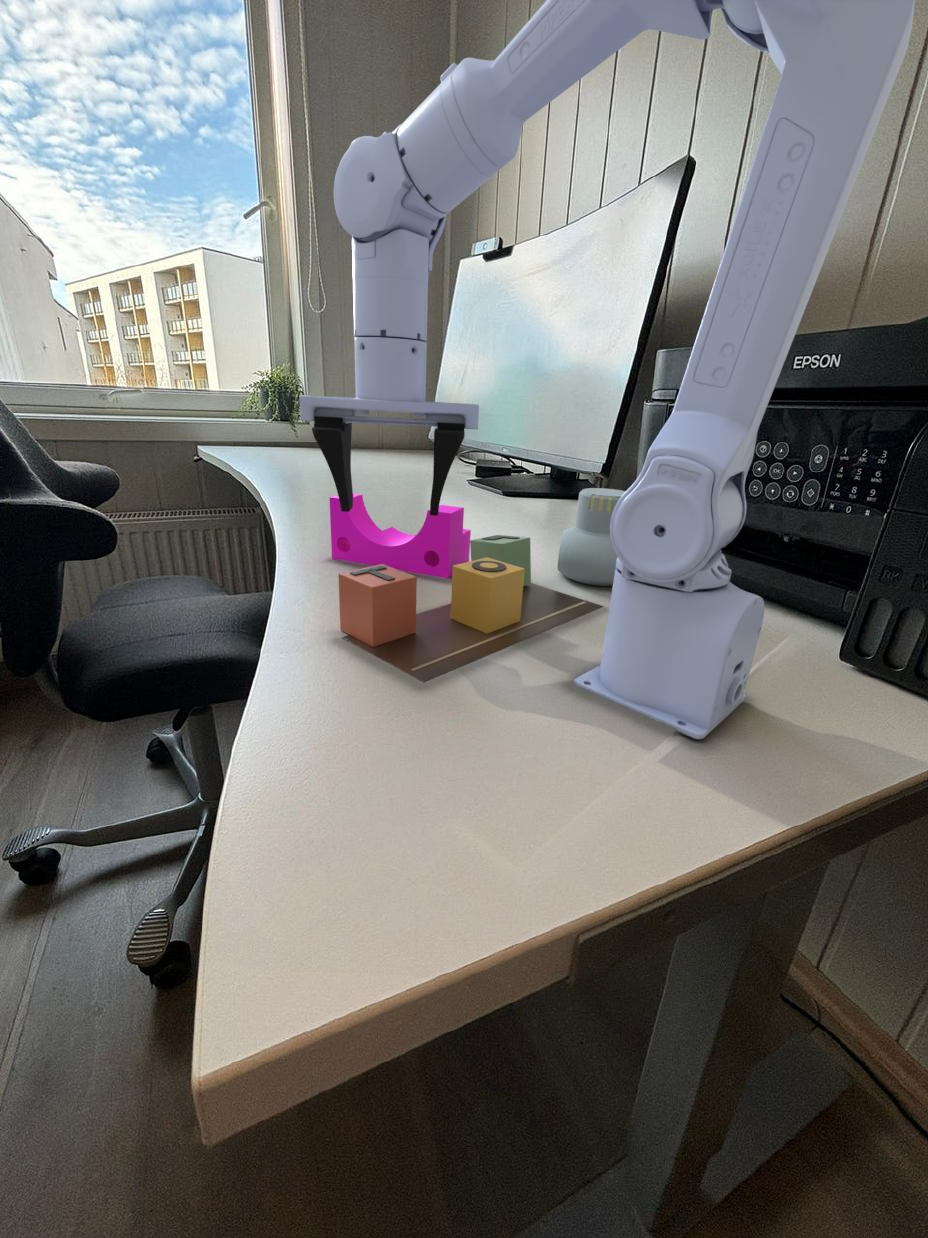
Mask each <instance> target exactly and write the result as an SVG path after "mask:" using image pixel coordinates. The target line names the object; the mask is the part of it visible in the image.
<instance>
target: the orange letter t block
mask: <svg viewBox="0 0 928 1238" xmlns="http://www.w3.org/2000/svg"><path fill="white" fill-rule="evenodd" d="M417 579H418V577H417V576H416V575H413V574H410V573H407V572H406V571H402V570H397V569H394V568H392V567H389V566H386V565H384V564H380V565H375V566H373V565H370V566H366V567H361V568H357V569H352V570H348V571H343V572H339V573H338V601H339V626H340V627H339V628H340V631H342V632H344V633H345V634H347V635H351V636H353V637H355V638H357V639H359V640H360V641H362V642H364V643H366V644H368V645H370V646H372V647H375V646H378V645H381V644H384V643H387V642H390V641H393V640H396V639H399V638H402V637H405V636H408V635H411V634H414V633H416V614H417V587H418V586H417V582H418V581H417Z"/></svg>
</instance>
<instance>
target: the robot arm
mask: <svg viewBox="0 0 928 1238" xmlns="http://www.w3.org/2000/svg"><path fill="white" fill-rule="evenodd" d="M915 4H916V0H545V1H544V3H543V4H542V5H541V6H540V7H539V8H538V10H537V11H536V12H534V14H533V16H532V17H530V19H529V20H528V21H527V22H526V23H525V24H524V26H523V27H522V28H521V29H520V30H519V32H518V33H517V34H516V35H515V36H514V37H513V38H512V39H511V40H510V42H509V43H508V44H507V45H506V46H505V48H503V50H502V51H501V52H500V53H499V54H498V55H497V57H496V58H495V59H492V60H487V59H481V58H475V57H465V58H463V59H462V60H461V61H460V62H459V64H457V63H455V62H453V63H452V64H451V65H450V66H449V67H447V69H446V70H445V71H444V72H443V73H442V74H441V75H440V79H439V80H440V83H439V84H438V85H437V86H436V88H435V89H434V90H433V91H431V93H430V94H429V95H428V96H427V97H426V98H425V99H424V100H423V101H422V102H421V103H420V104H419V105H418V106H417V108H415V109H414V110H413V112H412V113H410V115H408V117H407V118H406V119H404V121H403V122H402V123H401V124H400V123H399V124H398V126H397V127H396V128H395V129H394V130H393V131H392V132H391V131H389V132H388V131H386V130H385V131H384V132H383V133H382V134H381V135H379V136H376V137H375V136H373V135H362V136H360V137H357V138H355V139H354V140H353V141H351V143H350V145H349V147H348V149H347V151H346V152H345V153H344V154H343V156H342V158H341V159H340V161H339V164H338V166H337V169H336V172H335V175H334V176H335V177H334V181H333V204H334V209H335V210H334V211H335V214H336V217H337V220H338V222H339V224H340V225H341V228H342V229H343V230H344V231H345V232H346V233H347V234H348V235H350V236H351V250H352V252H351V253H352V254H351V255H352V256H351V257H352V259H351V260H352V294H353V295H352V296H353V297H352V298H353V337H354V338H353V339H354V383H355V384H354V385H355V397H350V396H349V397H345V396H325V395H324V396H323V395H299V397H298V399H299V414H300V415H299V416H300V421H301V422H314V423H313V427H311V431H312V432H311V433H312V435H313V438H314V440H315V442H316V443H317V445H318V448H319V449H320V451H321V453H322V455H323V457H324V459H325V461H326V463H327V465H328V469H329V471H330V473H331V476H332V479H333V483H334V485H335V488H336V489H335V490H336V492H337V495H338V496H339V500H340V506H341V511H343V512H349V511H350V510H351V509H352V508H353V494H354V492H353V478H352V431H353V425H352V424H353V423H354V424H371V425H372V424H374V425H375V424H376V425H395V426H396V425H397V426H415V427H417V426H418V427H435V428H434V431H433V466H432V467H433V468H432V469H433V470H432V473H433V475H432V485H431V493H430V503H429V510H430V515H436V516H437V515H438V511H439V506H440V504H441V503H440V502H441V498H442V495H443V490H444V487H445V484H446V481H447V478H448V475H449V472H450V470H451V468H452V465H453V462H454V460H455V459H456V456H457V454H458V452H459V449H460V448H461V446H462V443H463V441H464V439H465V433H466V432H465V430H479V415H480V405H479V404H478V403H461V402H460V403H459V402H443V401H442V402H441V401H426V399H427V397H426V395H427V393H426V391H427V353H428V352H427V348H428V343H427V342H428V339H427V338H428V300H429V299H428V297H429V296H428V295H429V293H428V291H429V277H430V272H432V271H433V259H434V258H433V256H434V251H435V248H436V246H437V244H438V242H439V241H440V239H441V236H442V235H443V232H444V229H445V225H446V221H447V215H448V214H449V213H451V212H452V211H453V210H454V209H455V208H457V206H459V205H460V204H461V203H462V202H463V201H465V200H466V199H467V198H468V197H469V196H470V195H472V194H473V193H474V192H475V191H477V189H479V188H480V187H481V186H483V185H484V184H485V183H486V182H487V181H489V180H490V179H491V178H492V177H493V176H494V175H496V174H497V173H499V171H501V170H502V169H503V168H504V167H505V166H506V165H507V164H509V163H510V162H511V161H512V160H513V159H514V158H515V157H516V155H517V152H518V149H519V145H520V141H521V136H522V130H523V126H524V124H525V122H526V121H528V119H530V118H531V117H533V116H534V115H536V114H537V113H538V112H540V111H541V110H542V109H543V108H544V107H546V106H548V104H550V103H552V101H554V100H555V99H557V98H558V97H559V96H560V95H562V94H563V93H564V92H566V91H567V90H568V89H570V88H571V87H572V86H573V85H575V84H576V83H577V82H579V81H580V80H581V79H583V78H584V77H585V76H586V75H588V74H589V73H590V72H592V71H593V70H594V69H596V68H597V67H598V66H599V65H601V64H602V63H604V61H607V60H608V59H609V58H610V57H611V56H613V55H614V54H615V53H617V52H618V51H619V50H620V49H622V48H623V47H625V46H626V45H627V44H628V43H630V42H631V41H632V40H634V39H635V38H636V37H638V36H639V35H640V34H641V33H643V32H645V31H648V30H649V31H650V30H653V31H658V32H662V33H667V34H673V35H677V36H682V37H687V38H691V39H697V40H708V39H710V38H711V25H712V23H711V22H712V19H711V18H712V11H714V10H718V9H721V12H722V16H723V19H724V21H725V24H726V26H727V28H728V29H729V30H730V32H731V33H732V34H733V35H734V36H735V37H736V38H738V40H740V41H742V42H743V43H744V44H746V45H748V46H750V47H752V48H754V49H756V50H758V51H760V52H762V53H765V54H766V55H769V57H770V58H771V60H772V61H773V63H774V65H775V67H776V68H777V71H779V73H780V78H779V81H778V83H777V87H776V89H775V92H774V96H773V99H772V103H771V105H770V108H769V111H768V114H767V118H766V121H765V124H764V127H763V130H762V133H761V136H760V139H759V143H758V144H757V149H756V152H755V154H754V158H753V161H752V164H751V166H750V171H749V173H748V177H747V179H746V183H745V186H744V189H743V192H742V195H741V199H740V201H739V205H738V208H737V210H736V214H735V217H734V220H733V223H732V226H731V229H730V231H729V236H728V239H727V242H726V245H725V248H724V251H723V254H722V257H721V259H720V264H719V266H718V269H717V272H716V276H715V278H714V282H713V285H712V288H711V291H710V295H709V297H708V301H707V304H706V306H705V310H704V312H703V316H702V318H701V322H700V326H699V329H698V331H697V335H696V338H695V341H694V344H693V347H692V350H691V352H690V356H689V359H688V362H687V366H686V369H685V371H684V375H683V377H682V380H681V384H680V387H679V389H678V390H679V391H678V394H677V397H676V399H675V402H674V405H673V409H672V411H671V414H670V416H669V417H668V419H667V420H666V422H665V423H664V425H663V426H662V428H661V429H660V431H659V433H658V434H657V436H656V437H655V438H654V440H653V442H652V443H651V445H650V447H649V449H648V451H647V453H646V457H645V460H644V463H643V466H642V469H641V471H640V473H639V474H638V477H637V478H636V479H635V480H634V482H633V483H632V484H631V486H629V487H628V488H627V490H625V491H626V492H625V493H624V494H623V495H622V496H621V498H620V499H619V500H618V502H617V504H616V506H615V508H614V510H613V513H612V516H611V522H610V537H611V542H612V546H613V548H614V551H615V553H616V555H617V561H616V569H615V575H614V582H613V586H612V588H611V595H610V601H609V606H608V607H609V609H608V615H607V622H606V626H605V627H606V628H605V633H604V641H603V646H602V647H603V648H602V653H601V659H600V664H599V665H597V666H596V667H594V668H592V669H590V670H588V671H587V672H585V673H583V674H581V675H579V676H577V677H576V678H574V681H573V684H574V685H575V686H577V687H579V688H581V689H584V690H586V691H587V692H590V693H593V694H595V695H597V696H600V697H602V698H605V699H607V700H608V701H611V702H614V703H616V704H618V705H620V706H623V707H625V708H627V709H629V710H632V711H634V712H637V713H638V714H641V715H643V716H645V717H647V718H650V719H652V720H655V721H657V722H659V723H662V724H664V725H666V726H668V727H671V728H673V729H676V730H675V731H676V732H678V733H681V734H682V735H685V736H687V737H690V738H691V739H695V740H702V739H705V738H706V737H707V736H708V735H709V734H710V733H711V732H712V731H713V730H714V729H715V728H716V727H717V726H718V725H719V724H721V723H722V722H723V721H724V720H725V719H727V717H728V716H729V715H730V714H731V713H732V712H733V711H734V710H736V709H737V708H738V707H739V706H740V705H741V704H742V703H743V702H744V701H745V700H746V693H745V690H746V686H747V683H748V679H749V676H750V671H751V667H752V663H753V660H754V656H755V653H756V649H757V646H758V642H759V639H760V638H759V637H760V634H761V630H762V626H763V621H764V615H765V601H764V598H763V597H761V596H760V595H758V594H755V593H752V592H749V591H746V590H744V589H742V588H739V587H738V586H736V585H735V584H733V583H732V582H731V578H732V569H731V568H730V567H729V563H728V562H727V559H726V555H725V554H724V553H722V549H723V548H725V547H726V546H728V545H729V544H731V542H733V540H734V539H736V537H737V536H738V534H739V533H740V531H741V530H742V528H743V526H744V524H745V522H746V521H745V520H746V516H747V507H748V506H747V499H746V498H747V497H746V492H745V491H746V489H745V488H746V487H745V485H746V479H747V476H748V472H749V470H750V468H751V466H752V462H753V460H754V456H755V449H756V442H757V438H758V431H759V428H760V425H761V423H762V420H763V418H764V415H765V413H766V410H767V408H768V405H769V402H770V400H771V398H772V394H773V392H774V390H775V387H776V385H777V382H778V379H779V377H780V374H781V372H782V370H783V366H784V365H785V361H786V359H787V357H788V354H789V353H790V352H789V351H790V349H791V346H792V343H793V341H794V339H795V336H796V334H797V331H798V329H799V326H800V324H801V321H802V318H803V316H804V313H805V311H806V308H807V306H808V303H809V300H810V298H811V295H812V293H813V290H814V288H815V285H816V283H817V280H818V278H819V275H820V272H821V270H822V267H823V266H824V262H825V260H826V257H827V255H828V252H829V249H830V247H831V244H832V242H833V239H834V238H835V237H834V236H835V234H836V232H837V229H838V226H839V224H840V221H841V219H842V216H843V214H844V212H845V209H846V207H847V204H848V201H849V200H850V196H851V193H852V191H853V189H854V186H855V183H856V182H857V181H856V180H857V179H858V175H859V173H860V171H861V168H862V165H863V163H864V161H865V158H866V155H867V153H868V150H869V147H870V145H871V143H872V140H873V138H874V135H875V133H876V129H877V128H878V125H879V123H880V120H881V118H882V115H883V113H884V109H885V107H886V105H887V102H888V100H889V98H890V95H891V92H892V89H893V86H894V84H895V82H896V79H897V77H898V74H899V71H900V69H901V66H902V64H903V61H904V59H905V57H906V53H907V51H908V47H909V43H910V39H911V34H912V30H913V24H914V15H915V14H914V13H915ZM370 412H385V413H386V412H388V413H412V417H413V418H403V417H402V418H401V417H380V416H367V415H369V414H370ZM360 415H361V416H360ZM362 415H363V416H362ZM418 418H419V419H418Z"/></svg>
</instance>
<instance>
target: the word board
mask: <svg viewBox="0 0 928 1238" xmlns="http://www.w3.org/2000/svg"><path fill="white" fill-rule="evenodd" d="M601 608H604V605H601V604H598V603H595V602H592V601H589V600H585V599H582V598H579V597H576V596H573V595H570V594H567V593H563V592H560V591H558V590H554V589H551V588H547V587H545V586H542V585H539V584H535V583H532V582H531V584H528V585H525V586H523V595H522V605H521V616H520V621H519V622H517V623H514V624H512V625H509V626H506V627H504V628H501V629H499V630H496V631H493V632H491V633H488V634H486V633H484V632H481V631H479V630H477V629H474V628H472V627H469V626H467V625H465V624H462V623H460V622H458V621H455V620H453V619H451V618H450V616H451V603H448V604H445V605H442V606H439V607H436V608H432V609H429V610H426V611H422V612H419V613H416V633H414V634H411V635H408V636H405V637H402V638H399V639H396V640H393V641H390V642H387V643H384V644H381V645H378V646H375V647H372V646H370V645H368V644H366V643H364V642H362V641H360V640H359V639H357V638H355V637H353V636H351V635H349V634H347V635H344V636H342V637H341V639H342V640H344V641H346V642H348V643H350V644H352V645H353V646H356V647H358V648H359V649H361V650H362V651H364V652H366V653H368V654H369V655H372V656H374V657H375V658H378V659H379V660H381V661H383V662H384V663H387V664H388V665H390V666H392V667H394V668H396V669H398V670H400V671H401V672H403V673H405V674H407V675H409V676H411V677H412V678H414V679H416V680H418V681H420V682H422V683H426V682H429V681H430V680H434V679H436V678H438V677H440V676H442V675H445V674H448V673H449V672H452V671H455V670H457V669H460V668H461V667H464V666H466V665H468V664H471V663H473V662H476V661H478V660H481V659H483V658H486V657H488V656H490V655H493V654H495V653H498V652H499V651H502V650H504V649H506V648H509V647H512V646H514V645H516V644H518V643H521V642H524V641H525V640H528V639H531V638H533V637H535V636H538V635H540V634H541V633H544V632H547V631H549V630H552V629H554V628H556V627H559V626H561V625H563V624H566V623H568V622H570V621H574V620H575V619H578V618H581V617H583V616H585V615H587V614H590V613H592V612H595V611H597V610H599V609H601Z"/></svg>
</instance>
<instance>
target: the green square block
mask: <svg viewBox="0 0 928 1238" xmlns="http://www.w3.org/2000/svg"><path fill="white" fill-rule="evenodd" d="M531 551H532V550H531V537H529V536H517V535H507V534H506V535H505V534H495V535H491V536H485V537H481V538H476V539H470V561H474V560H478V559H482V558H486V557H488V558H491V559H494V560H498V561H501V562H504V563H508V564H511V565H514V566H518V567H521V568H524V569H525V573H524V584H523V586H525V585H528V584H531V583H532V565H531V563H532V562H531V561H532V559H531V553H532V552H531Z"/></svg>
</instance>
